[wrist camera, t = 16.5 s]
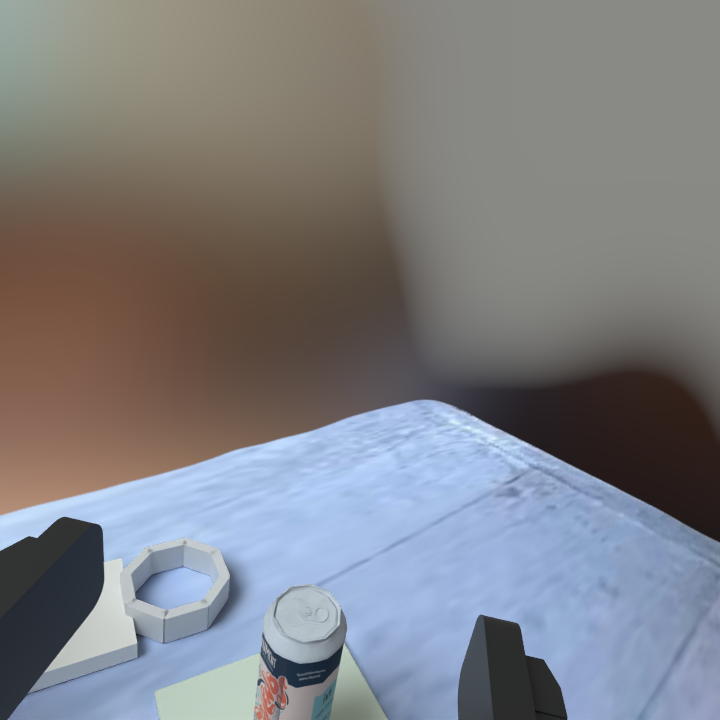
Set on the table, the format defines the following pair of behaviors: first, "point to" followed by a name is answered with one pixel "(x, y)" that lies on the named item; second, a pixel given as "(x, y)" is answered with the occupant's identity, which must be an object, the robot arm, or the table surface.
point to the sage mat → (238, 694)
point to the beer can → (300, 655)
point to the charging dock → (139, 611)
